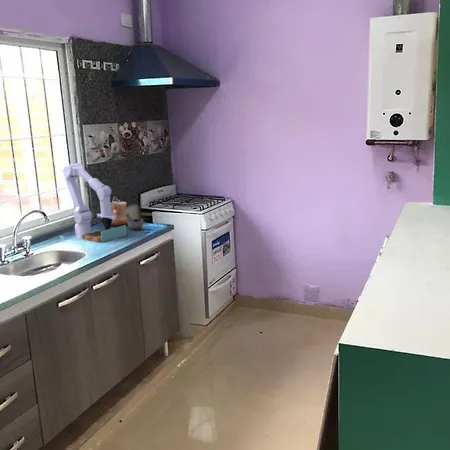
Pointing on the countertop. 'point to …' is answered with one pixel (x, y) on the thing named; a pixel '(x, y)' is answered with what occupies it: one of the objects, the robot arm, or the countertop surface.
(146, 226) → the countertop surface
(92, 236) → the tray
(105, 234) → the panel
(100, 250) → the countertop surface
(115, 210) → the ceramic jug
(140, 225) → the mortar and pestle
